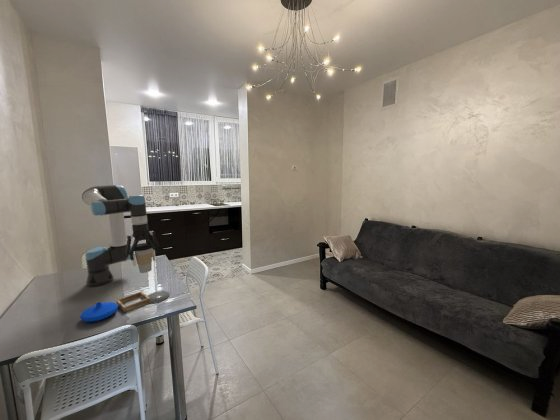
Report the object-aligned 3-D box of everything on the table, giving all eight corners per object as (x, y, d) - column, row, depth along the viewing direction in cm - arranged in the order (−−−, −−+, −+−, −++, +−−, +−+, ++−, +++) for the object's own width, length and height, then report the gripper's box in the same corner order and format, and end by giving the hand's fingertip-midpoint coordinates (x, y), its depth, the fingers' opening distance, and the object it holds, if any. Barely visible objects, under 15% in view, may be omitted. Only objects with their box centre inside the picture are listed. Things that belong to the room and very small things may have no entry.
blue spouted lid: (99, 307, 135) (97, 295, 134) (125, 308, 134) (124, 296, 132) (72, 325, 120) (69, 311, 119) (102, 326, 118) (100, 312, 117)
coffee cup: (146, 274, 133) (143, 247, 131) (131, 273, 135) (128, 247, 133) (158, 268, 142) (155, 242, 140) (144, 267, 144) (141, 242, 142)
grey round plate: (140, 298, 143) (140, 297, 143) (163, 290, 153) (163, 289, 153) (149, 306, 135) (149, 304, 135) (173, 296, 144) (173, 295, 144)
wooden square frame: (116, 304, 138) (116, 300, 137) (141, 295, 147) (141, 291, 147) (124, 312, 129) (124, 307, 129) (150, 302, 139) (150, 298, 138)
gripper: (118, 228, 124) (124, 270, 128) (163, 220, 140) (167, 258, 144) (114, 226, 130) (120, 267, 133) (158, 219, 145) (162, 256, 149)
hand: (144, 262), depth 138 cm, fingers closed on coffee cup, 9 cm apart
